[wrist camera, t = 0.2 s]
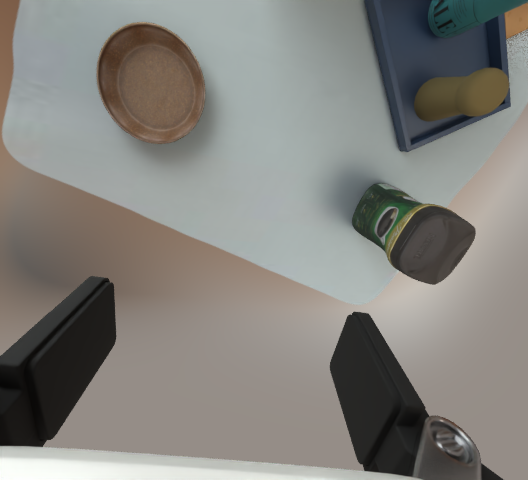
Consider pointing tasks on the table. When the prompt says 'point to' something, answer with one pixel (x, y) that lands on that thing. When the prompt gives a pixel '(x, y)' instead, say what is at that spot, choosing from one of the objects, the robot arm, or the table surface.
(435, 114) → the pepper shaker
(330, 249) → the table surface
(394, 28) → the tray
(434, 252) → the coffee jar
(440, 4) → the beverage bottle
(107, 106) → the saucer
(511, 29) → the orange brown rectangular board
